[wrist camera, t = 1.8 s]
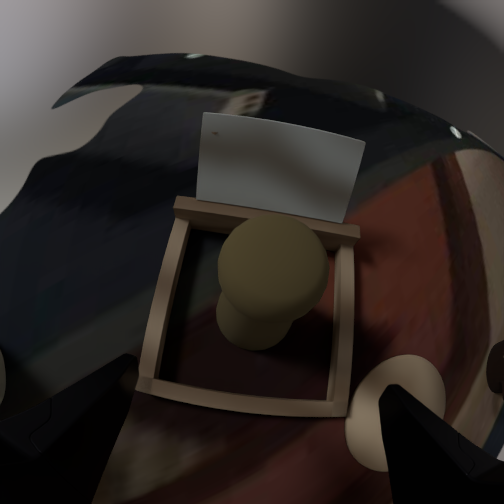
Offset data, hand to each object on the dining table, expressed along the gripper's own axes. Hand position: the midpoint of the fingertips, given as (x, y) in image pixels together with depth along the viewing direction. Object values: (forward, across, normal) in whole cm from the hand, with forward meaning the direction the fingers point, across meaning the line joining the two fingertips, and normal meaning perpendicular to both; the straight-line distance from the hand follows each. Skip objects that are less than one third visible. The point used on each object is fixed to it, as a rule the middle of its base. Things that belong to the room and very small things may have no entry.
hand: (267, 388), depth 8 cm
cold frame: (+13, 0, +3) cm, 14 cm away
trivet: (+6, -14, +10) cm, 18 cm away
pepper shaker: (+12, 0, +5) cm, 13 cm away
